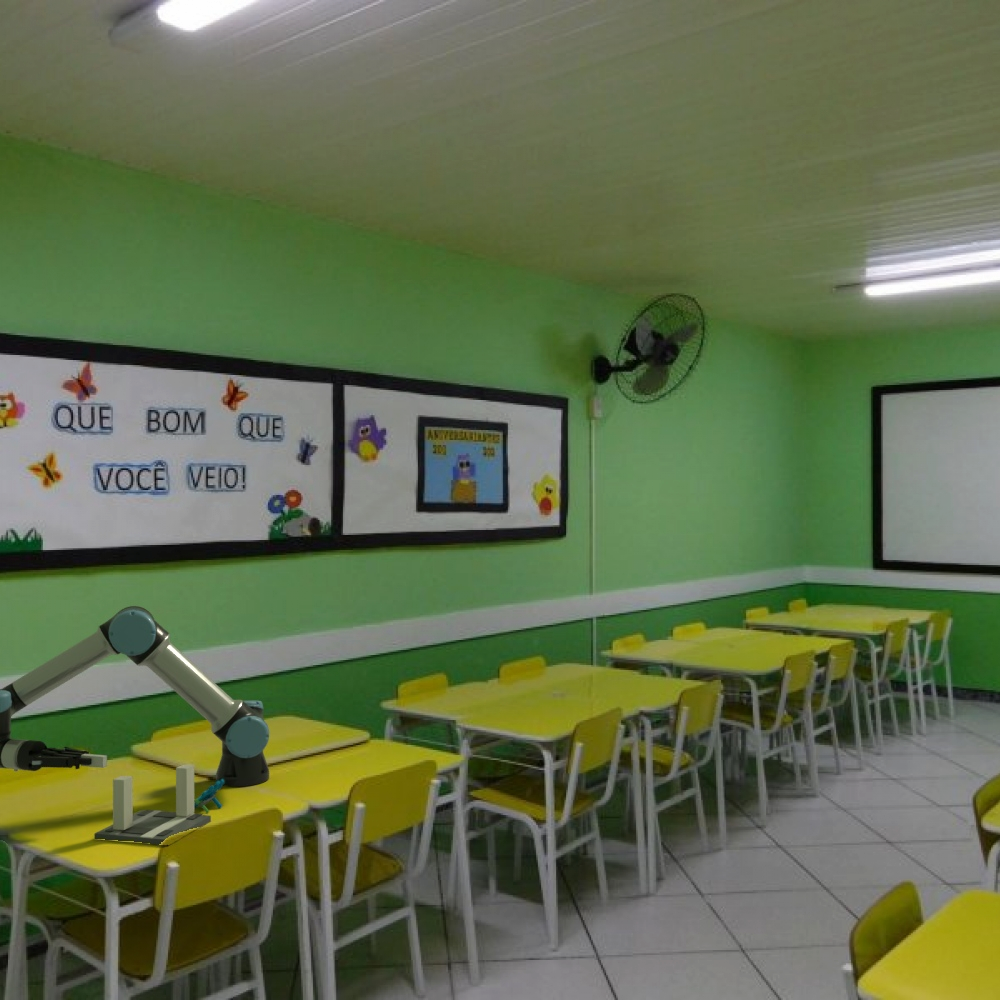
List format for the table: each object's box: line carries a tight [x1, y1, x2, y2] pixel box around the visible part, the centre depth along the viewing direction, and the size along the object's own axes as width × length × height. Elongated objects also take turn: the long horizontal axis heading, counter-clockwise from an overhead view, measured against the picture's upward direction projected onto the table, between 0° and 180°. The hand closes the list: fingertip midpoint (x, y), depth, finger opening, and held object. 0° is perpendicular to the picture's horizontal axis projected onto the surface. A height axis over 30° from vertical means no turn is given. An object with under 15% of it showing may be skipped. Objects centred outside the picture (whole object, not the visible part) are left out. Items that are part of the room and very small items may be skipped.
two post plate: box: [93, 764, 212, 846], centre depth 247 cm, size 20×19×14 cm
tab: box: [112, 775, 134, 830], centre depth 242 cm, size 3×4×12 cm
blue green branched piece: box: [194, 779, 225, 814], centre depth 265 cm, size 11×6×10 cm
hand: (104, 761), depth 250 cm, fingers closed
